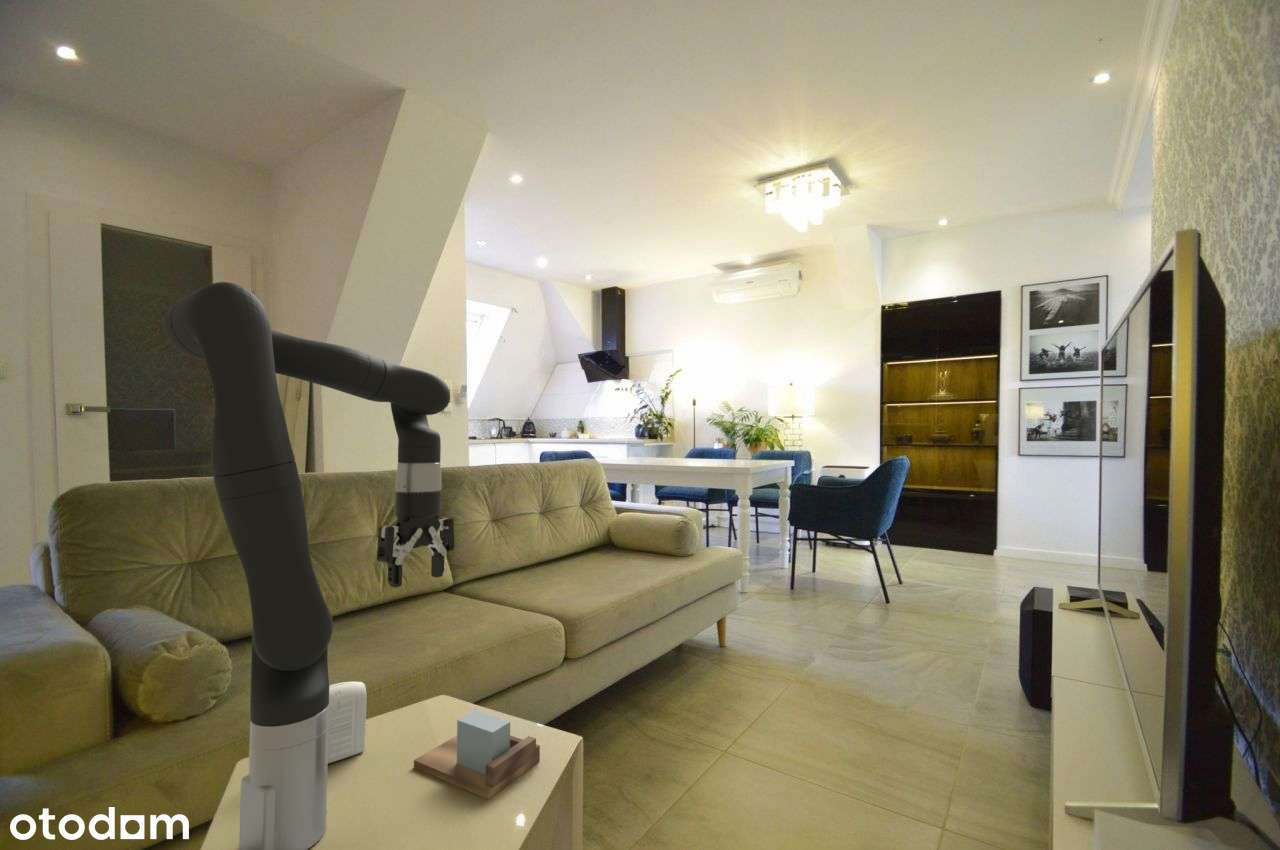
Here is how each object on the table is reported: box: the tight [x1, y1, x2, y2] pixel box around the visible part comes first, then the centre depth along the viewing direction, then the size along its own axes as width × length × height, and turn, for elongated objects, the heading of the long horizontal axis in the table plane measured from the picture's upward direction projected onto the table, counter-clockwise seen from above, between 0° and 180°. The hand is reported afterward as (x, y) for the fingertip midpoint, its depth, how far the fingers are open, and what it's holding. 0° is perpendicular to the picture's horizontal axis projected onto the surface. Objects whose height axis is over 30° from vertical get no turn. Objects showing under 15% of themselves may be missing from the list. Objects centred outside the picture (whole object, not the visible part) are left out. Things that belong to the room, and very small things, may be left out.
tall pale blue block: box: [456, 710, 511, 775], centre depth 92 cm, size 4×8×7 cm, turn 60°
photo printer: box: [327, 681, 368, 765], centre depth 96 cm, size 10×4×12 cm, turn 134°
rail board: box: [413, 734, 541, 800], centre depth 94 cm, size 12×17×4 cm
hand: (417, 581), depth 97 cm, fingers open, 8 cm apart
